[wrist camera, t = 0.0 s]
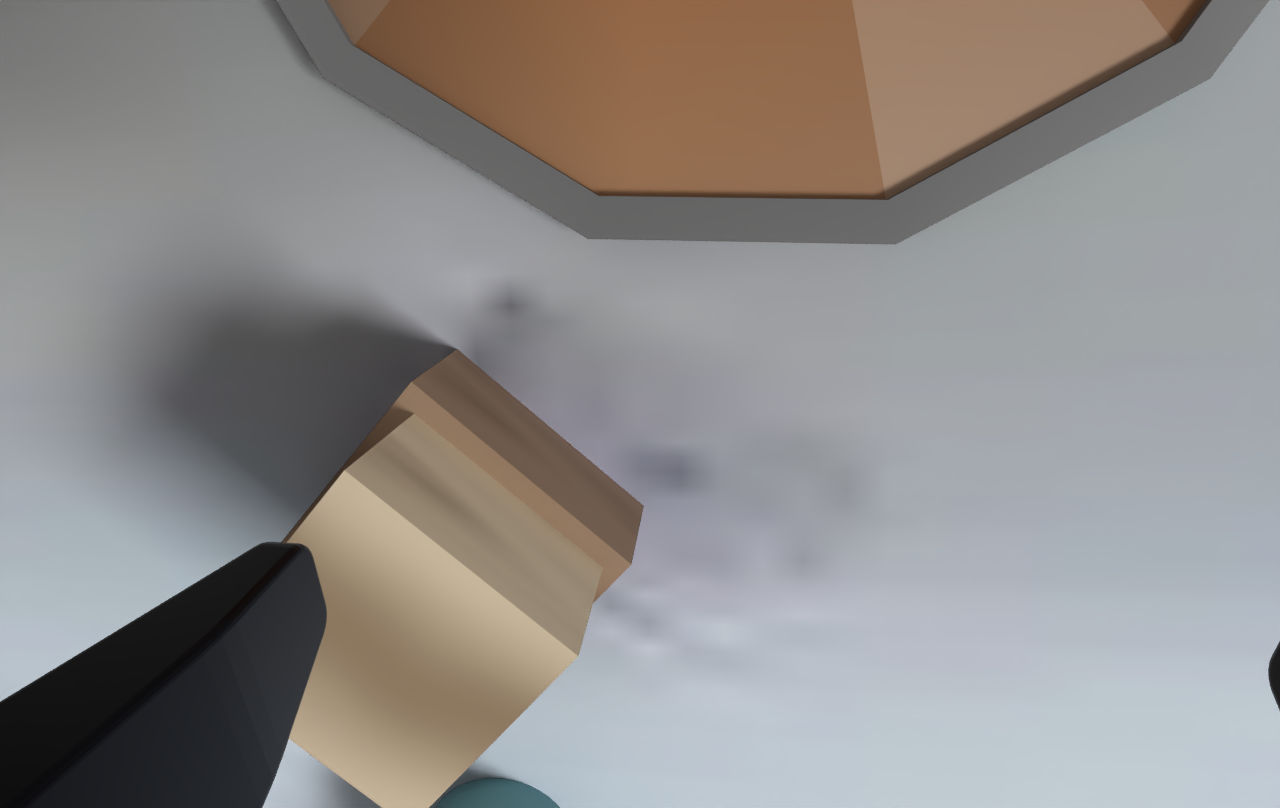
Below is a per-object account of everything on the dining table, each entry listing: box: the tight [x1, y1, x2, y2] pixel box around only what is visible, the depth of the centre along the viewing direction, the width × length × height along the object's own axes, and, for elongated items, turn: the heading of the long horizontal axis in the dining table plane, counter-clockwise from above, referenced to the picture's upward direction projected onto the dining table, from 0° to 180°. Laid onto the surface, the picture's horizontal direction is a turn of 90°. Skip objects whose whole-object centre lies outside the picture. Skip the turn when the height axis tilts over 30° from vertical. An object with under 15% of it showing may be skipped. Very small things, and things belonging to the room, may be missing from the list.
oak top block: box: [287, 414, 603, 808], centre depth 19 cm, size 6×6×4 cm
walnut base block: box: [282, 349, 644, 603], centre depth 23 cm, size 7×7×4 cm
